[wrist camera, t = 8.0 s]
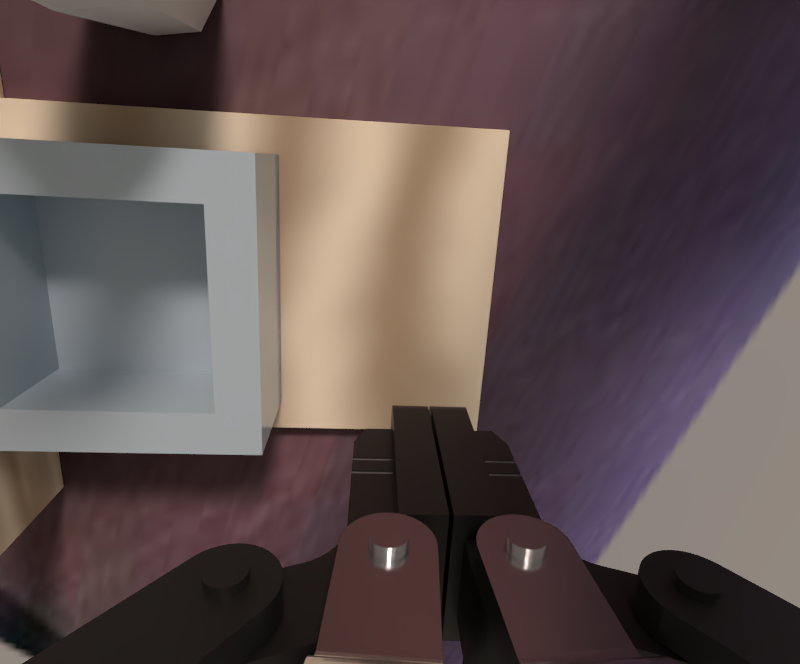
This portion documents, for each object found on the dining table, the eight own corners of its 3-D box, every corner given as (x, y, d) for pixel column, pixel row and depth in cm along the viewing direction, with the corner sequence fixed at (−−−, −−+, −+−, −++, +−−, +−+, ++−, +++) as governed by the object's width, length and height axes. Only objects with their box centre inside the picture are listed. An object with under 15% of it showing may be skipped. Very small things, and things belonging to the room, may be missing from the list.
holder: (278, 154, 22) (254, 152, 17) (281, 399, 25) (262, 455, 20) (-4, 138, 21) (-112, 131, 16) (37, 394, 24) (-42, 450, 20)
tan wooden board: (516, 27, 22) (632, -76, 12) (466, 491, 28) (516, 657, 19) (-58, -19, 20) (-435, -179, 11) (30, 486, 27) (-154, 665, 17)
